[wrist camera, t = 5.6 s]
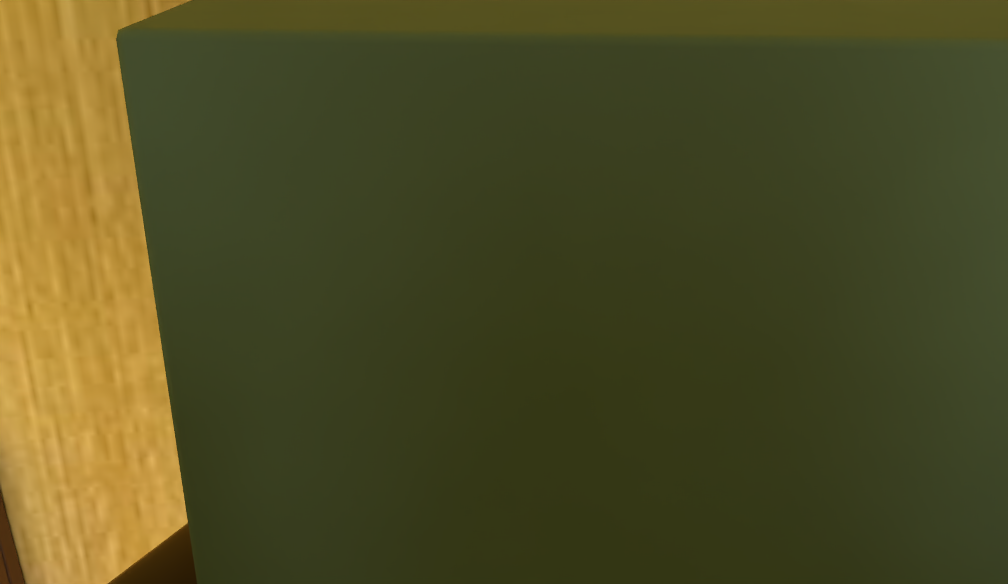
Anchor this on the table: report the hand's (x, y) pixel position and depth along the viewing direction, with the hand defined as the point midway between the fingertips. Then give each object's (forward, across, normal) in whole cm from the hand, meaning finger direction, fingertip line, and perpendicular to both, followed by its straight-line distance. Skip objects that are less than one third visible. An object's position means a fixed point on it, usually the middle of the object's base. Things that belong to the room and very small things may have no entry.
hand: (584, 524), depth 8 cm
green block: (+1, 0, 0) cm, 1 cm away
